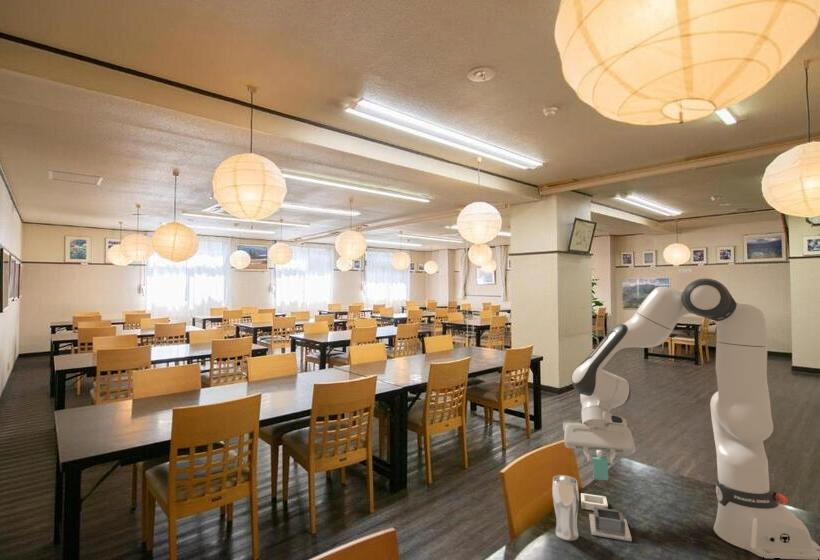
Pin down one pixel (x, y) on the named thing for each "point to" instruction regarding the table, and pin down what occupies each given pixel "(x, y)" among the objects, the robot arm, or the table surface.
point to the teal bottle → (600, 466)
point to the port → (609, 524)
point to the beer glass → (566, 506)
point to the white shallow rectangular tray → (593, 498)
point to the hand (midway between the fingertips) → (600, 463)
